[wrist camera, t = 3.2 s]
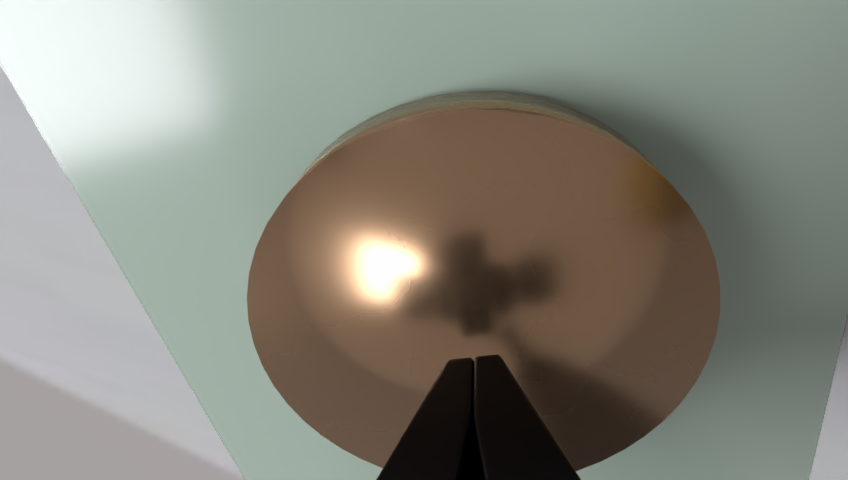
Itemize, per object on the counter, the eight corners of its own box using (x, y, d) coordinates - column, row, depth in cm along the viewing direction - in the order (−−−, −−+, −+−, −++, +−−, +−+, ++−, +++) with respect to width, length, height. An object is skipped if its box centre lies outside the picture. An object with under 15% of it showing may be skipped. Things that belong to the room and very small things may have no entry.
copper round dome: (630, 310, 15) (706, 470, 10) (364, 343, 16) (326, 498, 11) (625, 13, 11) (742, 56, 6) (277, 87, 12) (166, 167, 8)
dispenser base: (716, 348, 17) (806, 488, 12) (314, 391, 19) (270, 523, 14) (761, -188, 10) (992, -299, 6) (136, -24, 12) (-44, -12, 8)
